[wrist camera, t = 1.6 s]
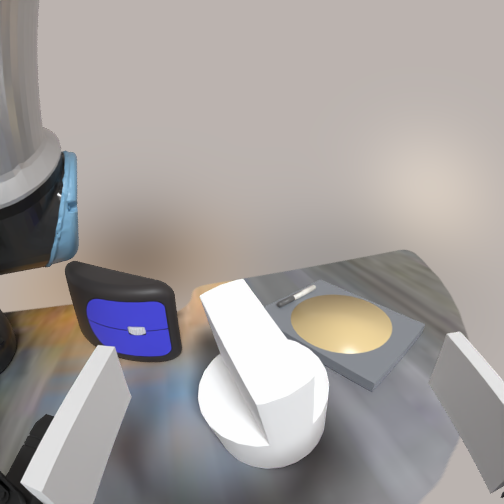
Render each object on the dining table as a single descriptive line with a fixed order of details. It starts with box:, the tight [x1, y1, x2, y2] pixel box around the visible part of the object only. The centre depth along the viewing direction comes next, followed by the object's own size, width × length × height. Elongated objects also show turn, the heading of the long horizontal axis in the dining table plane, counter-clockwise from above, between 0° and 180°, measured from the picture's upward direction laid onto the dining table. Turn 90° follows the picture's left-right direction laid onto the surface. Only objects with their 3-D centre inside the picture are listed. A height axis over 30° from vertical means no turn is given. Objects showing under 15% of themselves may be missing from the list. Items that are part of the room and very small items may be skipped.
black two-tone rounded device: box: [65, 261, 182, 362], centre depth 32 cm, size 16×5×9 cm, turn 71°
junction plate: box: [264, 280, 425, 392], centre depth 37 cm, size 18×14×2 cm
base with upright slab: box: [198, 279, 329, 469], centre depth 20 cm, size 9×9×12 cm
